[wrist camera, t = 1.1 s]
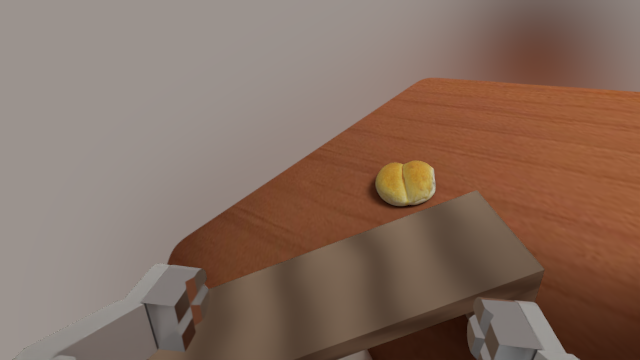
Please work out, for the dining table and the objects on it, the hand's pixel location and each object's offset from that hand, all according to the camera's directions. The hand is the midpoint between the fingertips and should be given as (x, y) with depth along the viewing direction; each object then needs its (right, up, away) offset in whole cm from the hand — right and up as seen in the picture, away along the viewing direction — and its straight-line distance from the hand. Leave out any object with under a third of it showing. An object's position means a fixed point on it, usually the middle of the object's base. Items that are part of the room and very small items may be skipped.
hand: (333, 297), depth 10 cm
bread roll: (+13, +2, +43) cm, 45 cm away
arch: (+3, -17, +26) cm, 32 cm away
